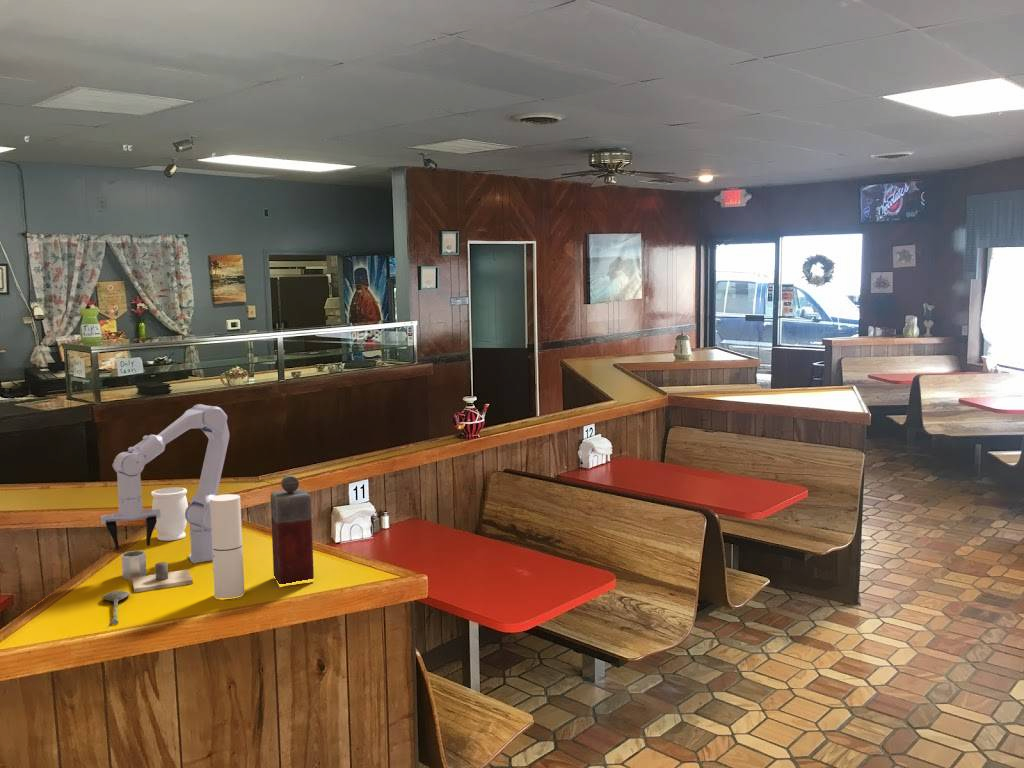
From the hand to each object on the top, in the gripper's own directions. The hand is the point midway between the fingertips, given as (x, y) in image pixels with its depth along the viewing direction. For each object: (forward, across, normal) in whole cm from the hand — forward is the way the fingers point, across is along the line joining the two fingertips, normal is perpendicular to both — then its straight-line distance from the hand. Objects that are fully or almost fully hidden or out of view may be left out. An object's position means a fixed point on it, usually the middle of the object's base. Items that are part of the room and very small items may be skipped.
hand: (132, 546), depth 232 cm
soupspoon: (+9, +6, +25) cm, 27 cm away
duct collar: (+8, 0, 0) cm, 8 cm away
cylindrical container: (+8, -20, +29) cm, 36 cm away
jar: (+8, -13, -35) cm, 38 cm away
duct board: (+8, -6, +10) cm, 14 cm away
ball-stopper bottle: (+8, -37, +24) cm, 45 cm away
